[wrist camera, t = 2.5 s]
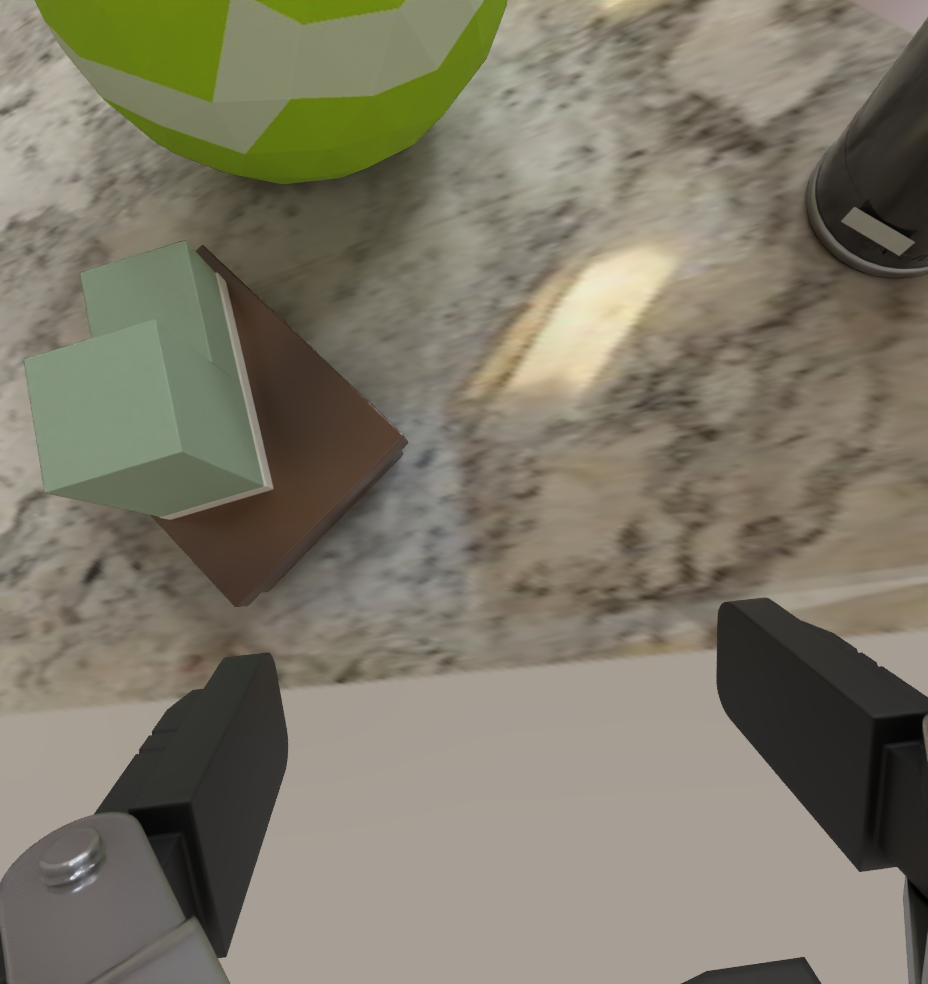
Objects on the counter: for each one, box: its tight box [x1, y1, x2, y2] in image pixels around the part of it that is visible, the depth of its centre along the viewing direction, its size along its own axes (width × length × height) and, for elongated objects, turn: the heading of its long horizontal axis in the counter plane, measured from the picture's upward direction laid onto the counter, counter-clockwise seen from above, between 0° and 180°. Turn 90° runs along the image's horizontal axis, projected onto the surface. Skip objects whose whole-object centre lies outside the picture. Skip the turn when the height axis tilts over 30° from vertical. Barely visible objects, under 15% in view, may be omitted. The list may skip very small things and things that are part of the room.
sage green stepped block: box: [24, 241, 273, 520], centre depth 27 cm, size 12×6×8 cm, turn 16°
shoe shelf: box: [151, 245, 408, 607], centre depth 33 cm, size 16×12×4 cm
